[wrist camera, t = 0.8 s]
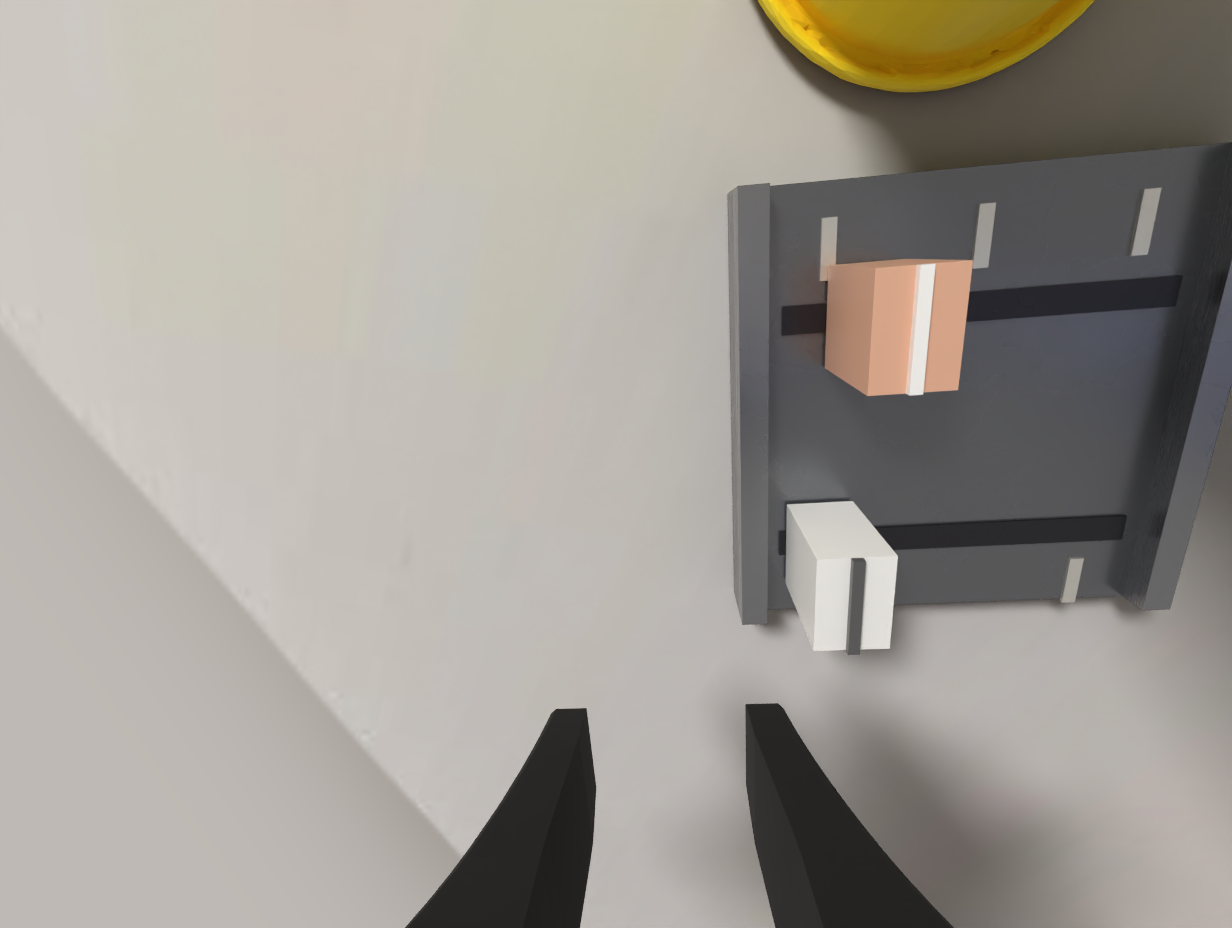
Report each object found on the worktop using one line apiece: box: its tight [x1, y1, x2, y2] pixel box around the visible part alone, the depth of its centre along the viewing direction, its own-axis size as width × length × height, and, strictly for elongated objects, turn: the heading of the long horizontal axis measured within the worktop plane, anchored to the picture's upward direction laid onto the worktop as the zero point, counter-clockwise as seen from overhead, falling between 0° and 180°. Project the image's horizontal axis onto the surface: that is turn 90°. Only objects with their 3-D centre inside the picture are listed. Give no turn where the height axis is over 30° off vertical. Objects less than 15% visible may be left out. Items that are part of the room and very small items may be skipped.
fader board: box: [728, 142, 1232, 625], centre depth 17 cm, size 13×13×2 cm
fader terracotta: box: [825, 259, 973, 396], centre depth 14 cm, size 2×3×4 cm
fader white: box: [785, 501, 898, 655], centre depth 17 cm, size 2×3×4 cm
